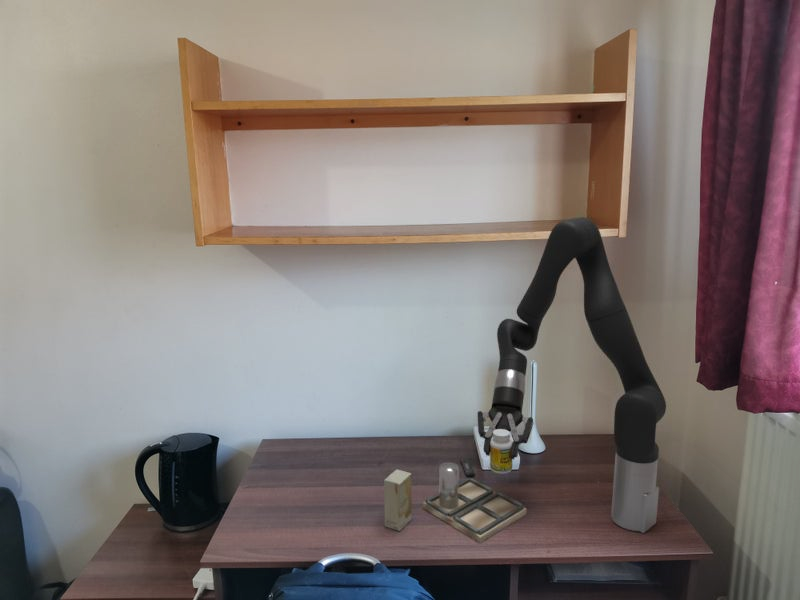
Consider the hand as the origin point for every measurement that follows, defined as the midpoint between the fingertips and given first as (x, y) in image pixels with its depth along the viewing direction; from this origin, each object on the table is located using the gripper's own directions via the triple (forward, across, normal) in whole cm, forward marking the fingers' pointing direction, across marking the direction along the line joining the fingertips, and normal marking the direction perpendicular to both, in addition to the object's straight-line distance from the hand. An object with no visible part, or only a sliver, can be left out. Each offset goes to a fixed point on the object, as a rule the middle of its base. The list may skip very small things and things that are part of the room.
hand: (499, 456), depth 140 cm
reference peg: (+11, -12, +10) cm, 19 cm away
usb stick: (-3, -12, +26) cm, 29 cm away
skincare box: (+19, -22, +4) cm, 29 cm away
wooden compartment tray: (+11, -6, +12) cm, 17 cm away
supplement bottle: (+2, 0, +4) cm, 5 cm away
